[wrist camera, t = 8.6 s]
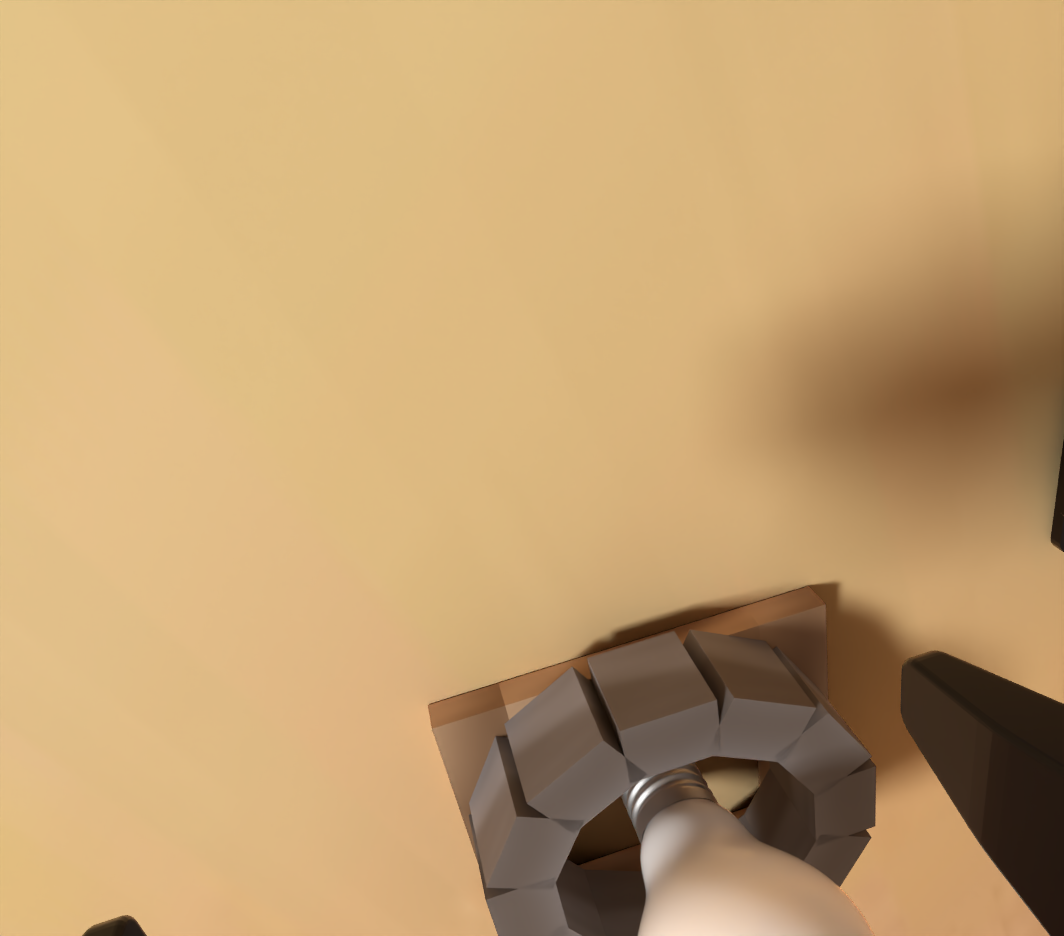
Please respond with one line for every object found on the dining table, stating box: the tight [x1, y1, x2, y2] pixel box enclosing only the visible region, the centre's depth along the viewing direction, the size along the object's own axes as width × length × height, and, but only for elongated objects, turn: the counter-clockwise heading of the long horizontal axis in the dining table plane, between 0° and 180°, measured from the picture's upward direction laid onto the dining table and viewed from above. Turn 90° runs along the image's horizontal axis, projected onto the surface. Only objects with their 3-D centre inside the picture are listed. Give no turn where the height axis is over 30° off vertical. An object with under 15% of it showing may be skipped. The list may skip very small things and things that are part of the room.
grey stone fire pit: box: [428, 586, 876, 936], centre depth 27 cm, size 12×12×4 cm
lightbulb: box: [620, 762, 875, 936], centre depth 24 cm, size 6×6×11 cm
